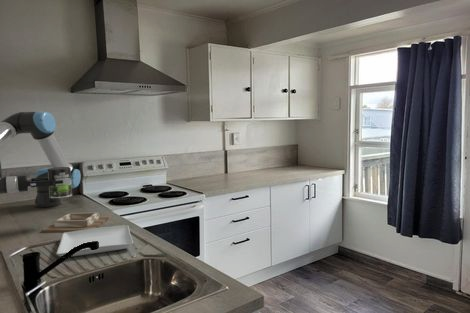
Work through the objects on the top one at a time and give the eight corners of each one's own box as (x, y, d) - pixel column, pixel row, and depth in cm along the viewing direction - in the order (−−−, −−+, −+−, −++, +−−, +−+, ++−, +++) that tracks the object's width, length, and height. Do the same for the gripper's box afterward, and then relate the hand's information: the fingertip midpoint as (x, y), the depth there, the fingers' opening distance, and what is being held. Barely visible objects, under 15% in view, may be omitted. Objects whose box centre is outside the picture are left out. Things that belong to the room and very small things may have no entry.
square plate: (63, 240, 156) (62, 231, 155) (128, 232, 165) (128, 223, 165) (56, 262, 130) (55, 252, 130) (134, 251, 140) (133, 241, 140)
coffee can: (75, 196, 177) (73, 167, 176) (52, 199, 171) (50, 170, 169) (69, 193, 185) (67, 166, 184) (47, 196, 178) (45, 168, 177)
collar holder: (65, 218, 191) (64, 211, 190) (110, 217, 191) (110, 210, 190) (41, 232, 167) (40, 224, 166) (93, 231, 167) (92, 222, 166)
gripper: (19, 188, 179) (68, 183, 189) (17, 195, 159) (72, 190, 170) (18, 173, 178) (67, 169, 189) (15, 179, 158) (71, 174, 169)
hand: (69, 179), depth 179 cm, fingers closed on coffee can, 10 cm apart
